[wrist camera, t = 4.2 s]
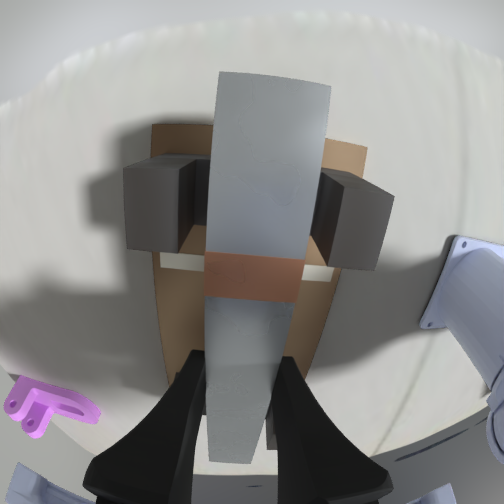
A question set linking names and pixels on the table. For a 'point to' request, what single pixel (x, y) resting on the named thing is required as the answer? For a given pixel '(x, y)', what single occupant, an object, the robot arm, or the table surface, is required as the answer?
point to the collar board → (195, 226)
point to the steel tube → (256, 244)
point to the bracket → (46, 405)
